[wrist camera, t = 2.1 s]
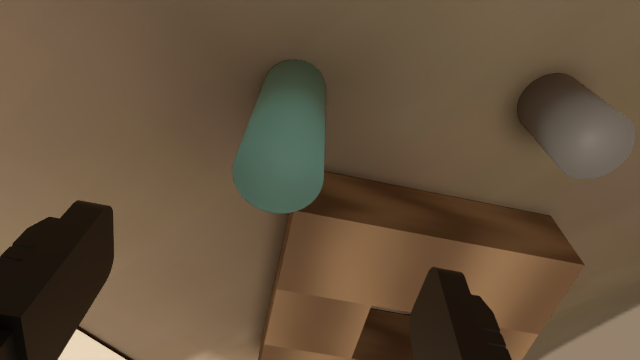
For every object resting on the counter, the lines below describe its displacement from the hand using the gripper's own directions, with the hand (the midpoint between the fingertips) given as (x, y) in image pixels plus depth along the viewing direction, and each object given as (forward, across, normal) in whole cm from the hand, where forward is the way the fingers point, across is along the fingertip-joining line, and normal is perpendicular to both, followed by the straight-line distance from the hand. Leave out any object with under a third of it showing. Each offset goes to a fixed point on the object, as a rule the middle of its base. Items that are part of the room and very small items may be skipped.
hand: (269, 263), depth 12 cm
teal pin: (+12, 0, 0) cm, 12 cm away
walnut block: (+12, -8, +11) cm, 18 cm away
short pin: (+12, -12, -2) cm, 17 cm away
